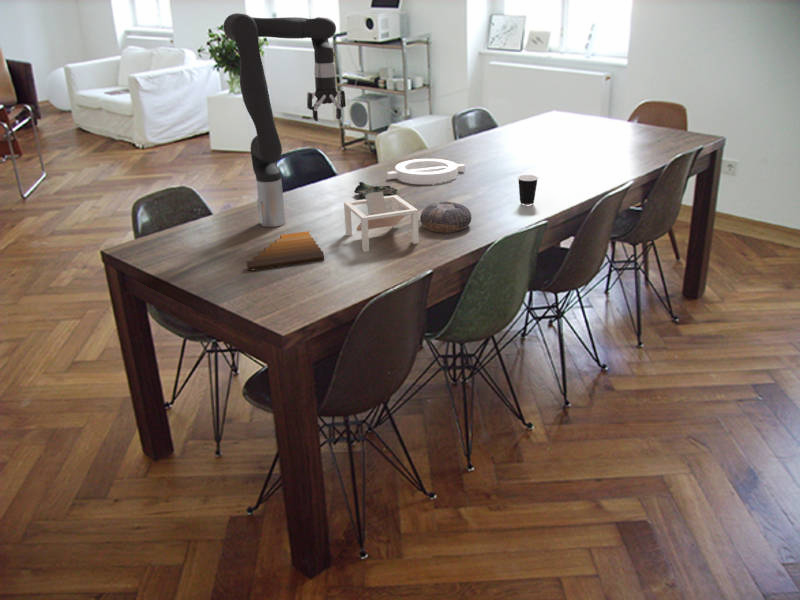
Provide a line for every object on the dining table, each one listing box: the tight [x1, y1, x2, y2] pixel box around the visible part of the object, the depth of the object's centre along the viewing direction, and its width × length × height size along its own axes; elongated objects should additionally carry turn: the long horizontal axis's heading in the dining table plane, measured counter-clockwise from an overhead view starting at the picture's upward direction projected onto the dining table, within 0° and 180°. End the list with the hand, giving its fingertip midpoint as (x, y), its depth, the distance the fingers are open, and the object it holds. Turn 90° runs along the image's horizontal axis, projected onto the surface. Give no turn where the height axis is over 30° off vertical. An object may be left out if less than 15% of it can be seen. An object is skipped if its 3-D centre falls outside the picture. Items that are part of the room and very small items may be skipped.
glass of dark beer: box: [517, 174, 539, 205], centre depth 305 cm, size 8×8×11 cm
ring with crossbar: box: [386, 158, 466, 185], centre depth 349 cm, size 28×28×5 cm
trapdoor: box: [356, 208, 408, 232], centre depth 271 cm, size 15×15×1 cm
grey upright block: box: [365, 191, 387, 215], centre depth 275 cm, size 5×5×10 cm
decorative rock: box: [353, 181, 398, 200], centre depth 325 cm, size 19×6×15 cm
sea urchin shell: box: [419, 200, 472, 234], centre depth 284 cm, size 19×19×10 cm
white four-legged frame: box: [343, 194, 419, 253], centre depth 272 cm, size 20×20×12 cm
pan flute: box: [246, 230, 325, 271], centre depth 263 cm, size 25×3×25 cm
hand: (327, 119), depth 291 cm, fingers open, 8 cm apart
